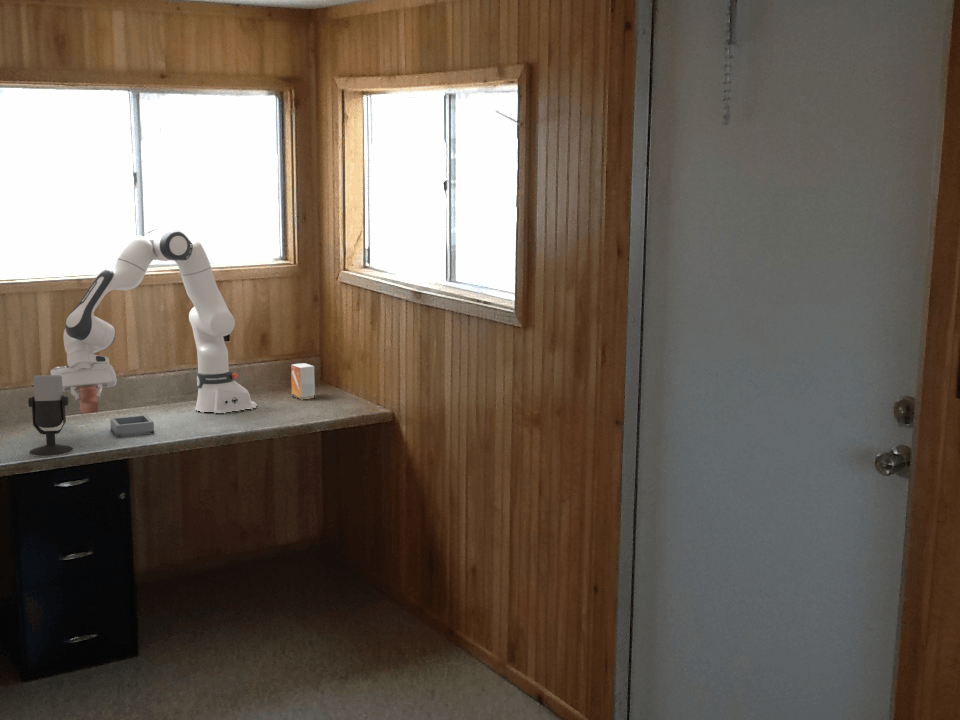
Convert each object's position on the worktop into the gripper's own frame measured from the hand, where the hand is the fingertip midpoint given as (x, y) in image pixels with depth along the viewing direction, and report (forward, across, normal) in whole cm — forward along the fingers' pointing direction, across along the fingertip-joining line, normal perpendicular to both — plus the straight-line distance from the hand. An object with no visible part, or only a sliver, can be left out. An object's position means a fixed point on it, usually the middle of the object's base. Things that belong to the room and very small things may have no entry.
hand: (88, 398), depth 381 cm
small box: (-9, +83, +30) cm, 89 cm away
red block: (+3, 0, +3) cm, 4 cm away
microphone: (+20, -14, -2) cm, 25 cm away
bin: (+9, +14, +9) cm, 19 cm away
